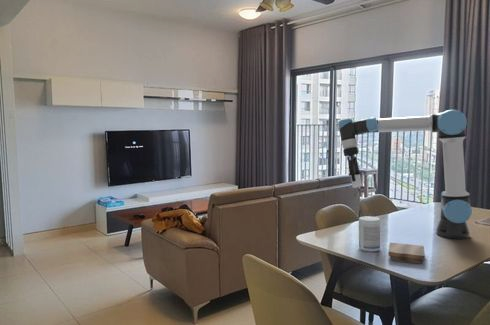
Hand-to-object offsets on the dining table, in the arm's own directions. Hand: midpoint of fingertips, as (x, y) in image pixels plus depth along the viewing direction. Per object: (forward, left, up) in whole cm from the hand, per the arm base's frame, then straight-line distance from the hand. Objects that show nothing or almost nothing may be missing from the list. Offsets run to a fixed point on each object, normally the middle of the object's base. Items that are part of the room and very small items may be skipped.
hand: (357, 187), depth 195 cm
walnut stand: (-24, +29, -25) cm, 46 cm away
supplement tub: (-8, +23, -26) cm, 35 cm away
